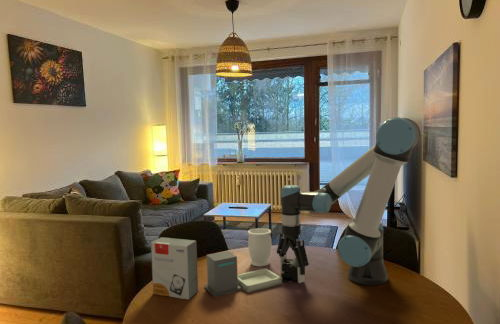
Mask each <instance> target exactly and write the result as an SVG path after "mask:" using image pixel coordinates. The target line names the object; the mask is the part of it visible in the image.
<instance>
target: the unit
mask: <svg viewBox="0 0 500 324" xmlns="http://www.w3.org/2000/svg"><path fill="white" fill-rule="evenodd" d="M206 277H207V278H206V280H207V284H204V285H203V286H204V289H205V290H206V291H207V292H208V293H210V294H211V296H212V297H214V298H217V297H221V296H225V295H230V294H232V293H233V294H234V293H237V292H242V290H243V289H242V288H241V287H240V286H239V285H238V257H237V256H236V255H235V254H234V253H232V252H231V251H230V250H225V251H219V252H215V253H213V252H212V253H209V254H206Z"/></svg>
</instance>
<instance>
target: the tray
mask: <svg viewBox="0 0 500 324" xmlns="http://www.w3.org/2000/svg"><path fill="white" fill-rule="evenodd" d="M237 275H238V285H239V286H240V287H241V289H242V290H243V291H244V292H246V293H252V292H255V291H260V290H264V289H267V288H271V287H276V286H280V285H282V284H283V281H282V276H280V275H278V274H277V273H274V271H271V270H270V269H269V268H266V267H264V268H261V269H256V270H252V271H248V272H244V273H240V274H239V273H237Z"/></svg>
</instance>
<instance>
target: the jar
mask: <svg viewBox="0 0 500 324" xmlns="http://www.w3.org/2000/svg"><path fill="white" fill-rule="evenodd" d="M271 234H272V230H271V229H270V228H265V227H264V228H263V227H258V228H257V227H256V228H250V229H249V230H248V231H247V235H248V239H247V240H248V241H247V246H248V252H249V256H250V259H251V262H250V264H251V265H252V266H253V267H265V266H268V265H270V262H271V261H270V257H271V252H272V236H271Z"/></svg>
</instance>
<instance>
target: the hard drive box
mask: <svg viewBox="0 0 500 324" xmlns="http://www.w3.org/2000/svg"><path fill="white" fill-rule="evenodd" d="M150 251H151V252H150V254H151V275H152V278H151V279H152V294H153V295H158V296H161V297H163V296H166V297H171V298H177V299H182V300H187V301H188V300H190V299H191V298H193V297H194V296H195V294H197V293H198V292H199V285H198V283H199V280H198V279H199V278H198V253H197V251H198V250H197V240H195V239H194V240H193V239H183V238H172V237H159V238H157V239H155V240H153V241H151V242H150Z"/></svg>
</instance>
